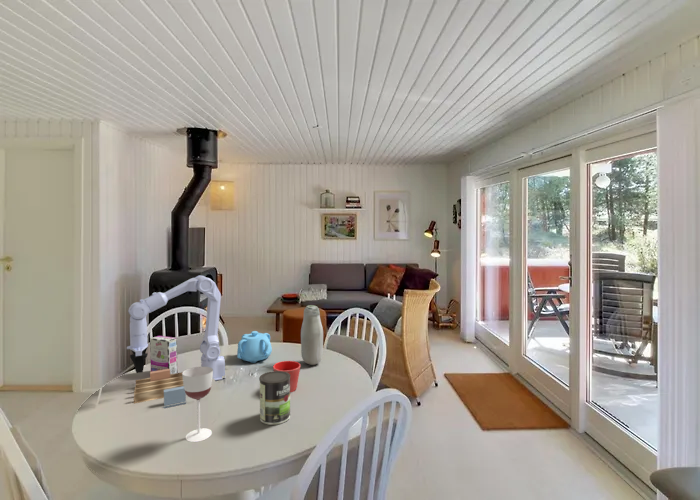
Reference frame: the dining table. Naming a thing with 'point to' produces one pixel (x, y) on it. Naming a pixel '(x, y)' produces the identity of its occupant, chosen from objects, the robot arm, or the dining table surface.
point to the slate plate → (174, 397)
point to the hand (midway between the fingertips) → (139, 368)
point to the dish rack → (155, 387)
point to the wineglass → (198, 396)
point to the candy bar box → (163, 353)
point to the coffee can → (274, 397)
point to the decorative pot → (254, 347)
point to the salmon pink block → (159, 375)
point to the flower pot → (289, 371)
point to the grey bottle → (311, 336)
